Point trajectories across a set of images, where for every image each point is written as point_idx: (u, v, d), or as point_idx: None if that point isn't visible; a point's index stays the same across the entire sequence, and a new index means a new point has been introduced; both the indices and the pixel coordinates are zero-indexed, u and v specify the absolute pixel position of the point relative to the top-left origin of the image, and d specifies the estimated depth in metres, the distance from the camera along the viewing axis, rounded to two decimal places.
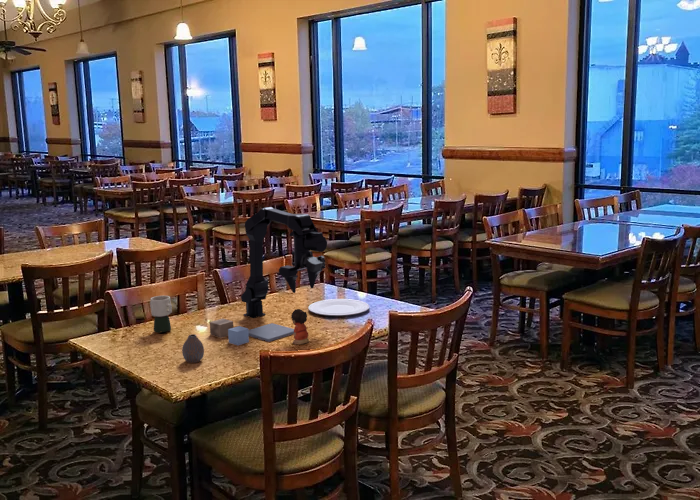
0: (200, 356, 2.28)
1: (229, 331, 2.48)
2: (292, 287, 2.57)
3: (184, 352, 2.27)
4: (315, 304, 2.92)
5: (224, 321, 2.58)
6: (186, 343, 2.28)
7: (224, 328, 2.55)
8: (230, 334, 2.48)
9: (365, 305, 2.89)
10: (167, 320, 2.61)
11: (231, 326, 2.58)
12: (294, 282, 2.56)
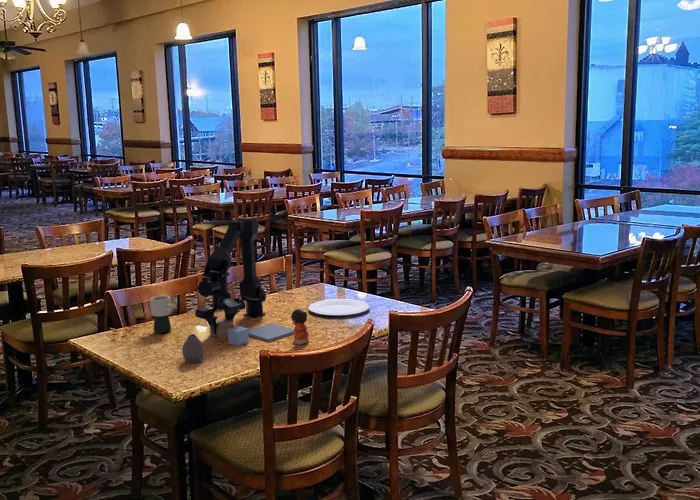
0: (200, 356, 2.28)
1: (229, 331, 2.48)
2: (212, 328, 2.55)
3: (184, 352, 2.27)
4: (315, 304, 2.92)
5: (224, 320, 2.58)
6: (186, 343, 2.28)
7: (224, 327, 2.55)
8: (230, 334, 2.48)
9: (365, 305, 2.89)
10: (167, 320, 2.61)
11: (231, 326, 2.58)
12: (214, 323, 2.54)
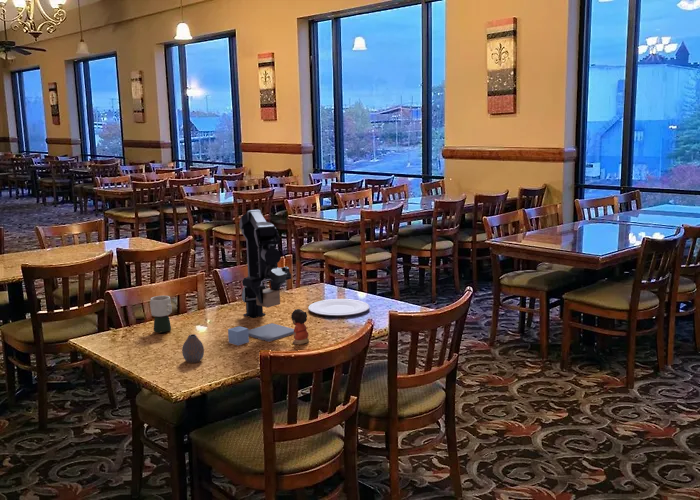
0: (200, 356, 2.28)
1: (229, 331, 2.48)
2: (259, 298, 2.53)
3: (184, 352, 2.27)
4: (315, 304, 2.92)
5: (270, 290, 2.56)
6: (186, 343, 2.28)
7: (270, 297, 2.53)
8: (230, 334, 2.48)
9: (365, 305, 2.89)
10: (167, 320, 2.61)
11: (278, 296, 2.56)
12: (261, 293, 2.52)
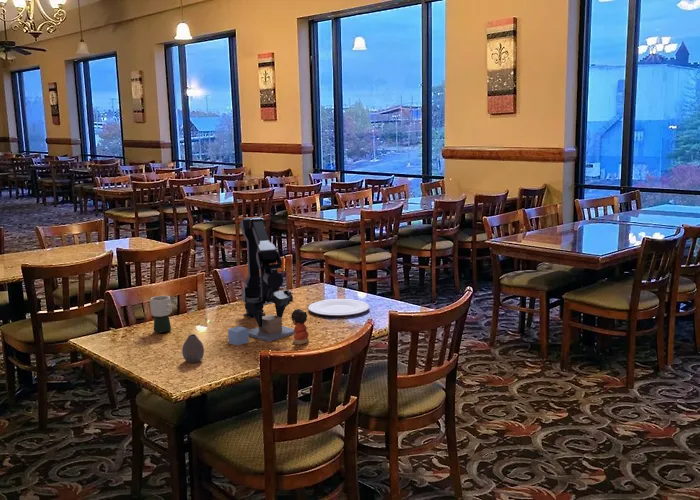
0: (200, 356, 2.28)
1: (229, 331, 2.48)
2: (258, 321, 2.54)
3: (184, 352, 2.27)
4: (315, 304, 2.92)
5: (272, 317, 2.58)
6: (186, 343, 2.28)
7: (273, 324, 2.55)
8: (230, 334, 2.48)
9: (365, 305, 2.89)
10: (167, 320, 2.61)
11: (280, 322, 2.58)
12: (260, 316, 2.52)
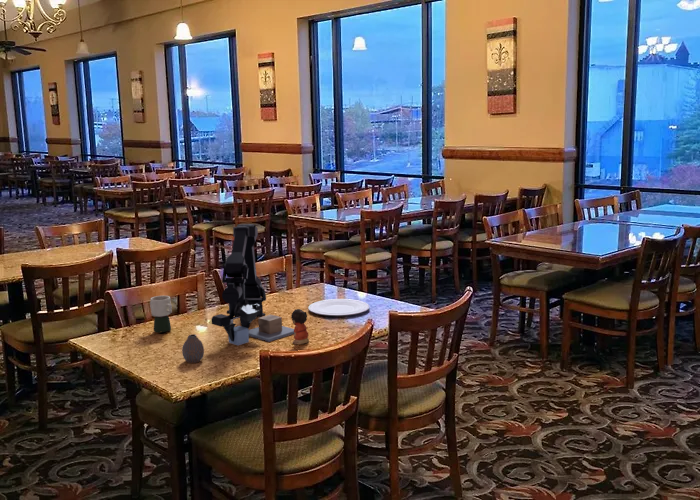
0: (200, 356, 2.28)
1: None
2: (230, 335, 2.46)
3: (184, 352, 2.27)
4: (315, 304, 2.92)
5: (272, 317, 2.58)
6: (186, 343, 2.28)
7: (273, 324, 2.55)
8: None
9: (365, 305, 2.89)
10: (167, 320, 2.61)
11: (280, 322, 2.58)
12: (232, 330, 2.45)
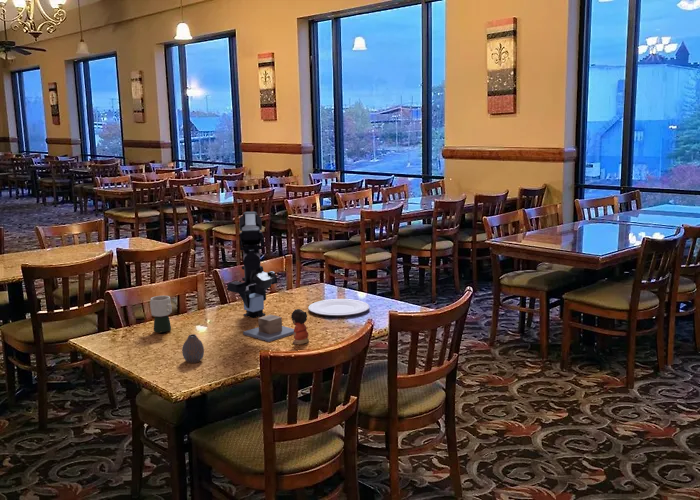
0: (200, 356, 2.28)
1: None
2: (246, 302, 2.49)
3: (184, 352, 2.27)
4: (315, 304, 2.92)
5: (272, 317, 2.58)
6: (186, 343, 2.28)
7: (273, 324, 2.55)
8: None
9: (365, 305, 2.89)
10: (167, 320, 2.61)
11: (280, 322, 2.58)
12: (247, 297, 2.48)
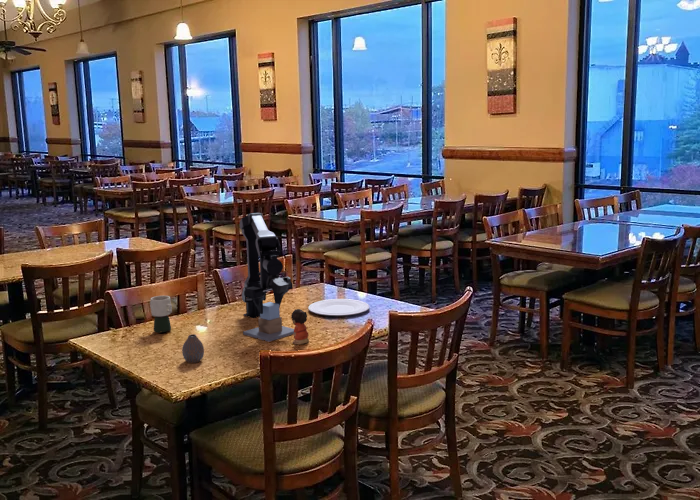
0: (200, 356, 2.28)
1: None
2: (259, 308, 2.53)
3: (184, 352, 2.27)
4: (315, 304, 2.92)
5: None
6: (186, 343, 2.28)
7: (273, 324, 2.55)
8: None
9: (365, 305, 2.89)
10: (167, 320, 2.61)
11: (280, 322, 2.58)
12: (261, 303, 2.52)
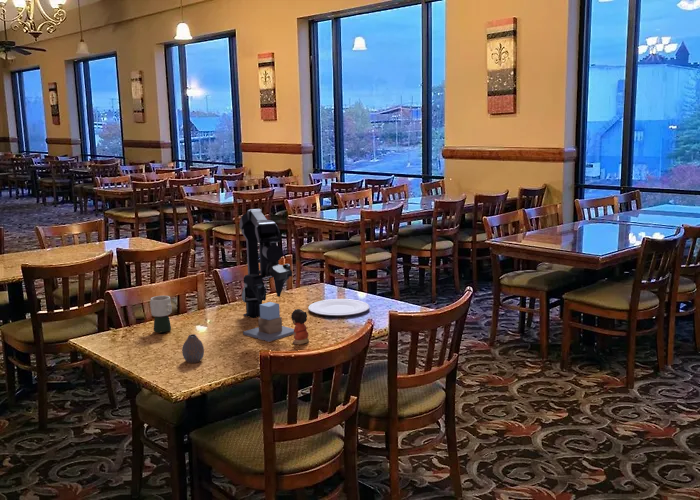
0: (200, 356, 2.28)
1: (261, 306, 2.56)
2: (257, 296, 2.52)
3: (184, 352, 2.27)
4: (315, 304, 2.92)
5: None
6: (186, 343, 2.28)
7: (273, 324, 2.55)
8: (262, 309, 2.56)
9: (365, 305, 2.89)
10: (167, 320, 2.61)
11: (280, 322, 2.58)
12: (259, 291, 2.51)
